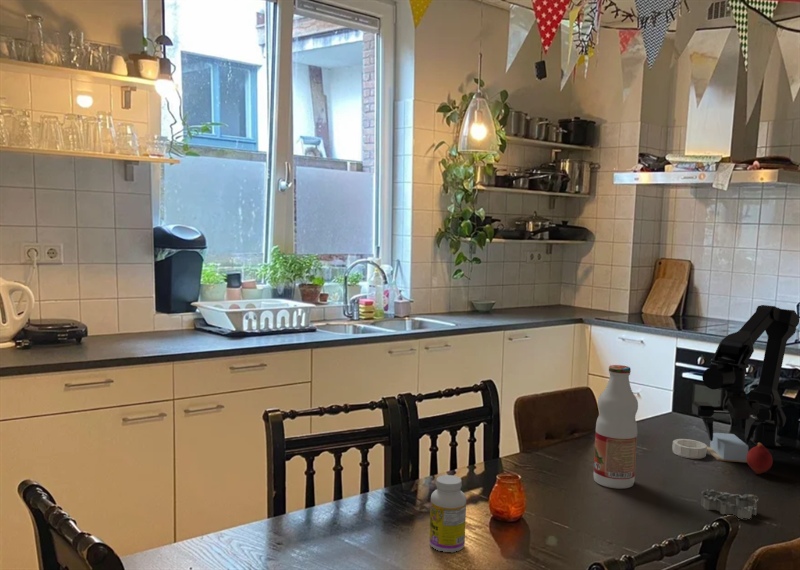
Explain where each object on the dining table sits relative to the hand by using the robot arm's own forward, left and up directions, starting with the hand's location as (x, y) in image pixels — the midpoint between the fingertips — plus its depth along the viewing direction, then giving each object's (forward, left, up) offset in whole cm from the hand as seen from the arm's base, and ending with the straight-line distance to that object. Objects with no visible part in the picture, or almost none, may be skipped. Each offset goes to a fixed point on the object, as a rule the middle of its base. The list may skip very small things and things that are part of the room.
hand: (728, 441), depth 187 cm
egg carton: (+39, -13, -4) cm, 42 cm away
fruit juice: (+27, -35, -4) cm, 45 cm away
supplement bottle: (+67, -73, -4) cm, 99 cm away
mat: (0, 0, -4) cm, 4 cm away
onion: (+14, +3, -4) cm, 15 cm away
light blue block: (0, 0, -3) cm, 3 cm away
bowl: (+1, -10, -4) cm, 11 cm away
